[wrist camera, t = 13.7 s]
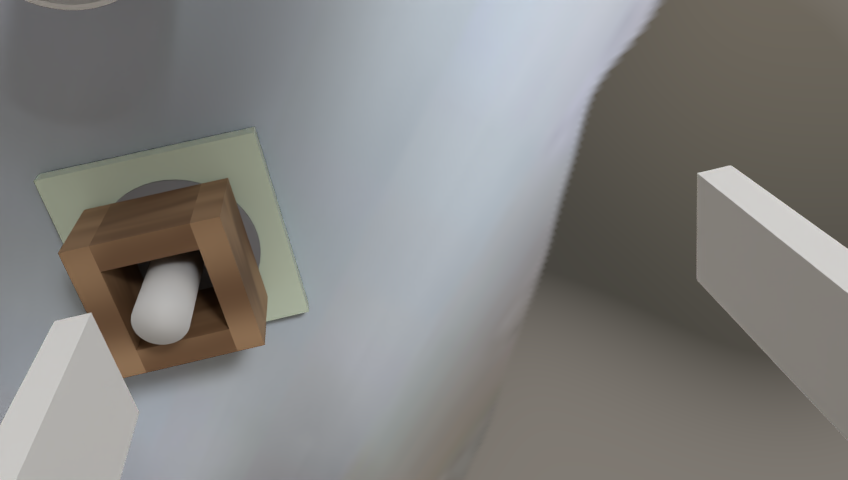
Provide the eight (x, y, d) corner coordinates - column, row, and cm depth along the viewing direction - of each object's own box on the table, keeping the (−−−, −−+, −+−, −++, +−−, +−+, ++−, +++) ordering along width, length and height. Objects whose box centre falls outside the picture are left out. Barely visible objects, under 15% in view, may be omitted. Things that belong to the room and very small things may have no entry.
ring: (83, 209, 40) (57, 253, 36) (227, 177, 41) (219, 216, 36) (136, 327, 44) (118, 379, 40) (267, 296, 45) (264, 344, 40)
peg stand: (39, 174, 40) (-18, 244, 33) (254, 126, 41) (245, 185, 34) (120, 346, 46) (87, 439, 39) (308, 303, 47) (310, 385, 39)
